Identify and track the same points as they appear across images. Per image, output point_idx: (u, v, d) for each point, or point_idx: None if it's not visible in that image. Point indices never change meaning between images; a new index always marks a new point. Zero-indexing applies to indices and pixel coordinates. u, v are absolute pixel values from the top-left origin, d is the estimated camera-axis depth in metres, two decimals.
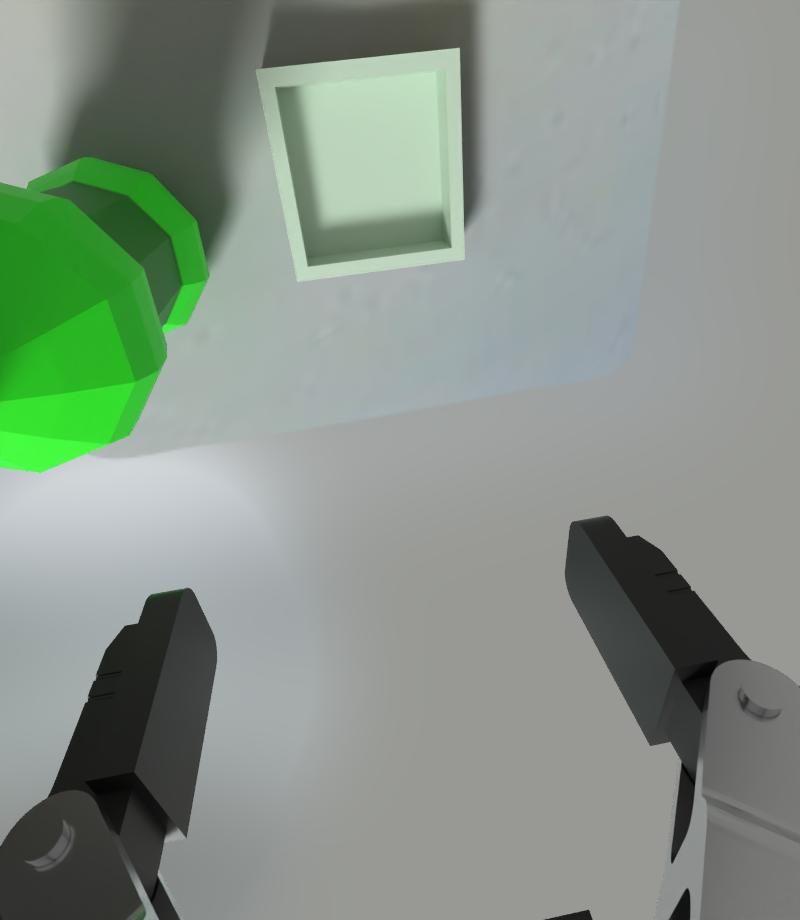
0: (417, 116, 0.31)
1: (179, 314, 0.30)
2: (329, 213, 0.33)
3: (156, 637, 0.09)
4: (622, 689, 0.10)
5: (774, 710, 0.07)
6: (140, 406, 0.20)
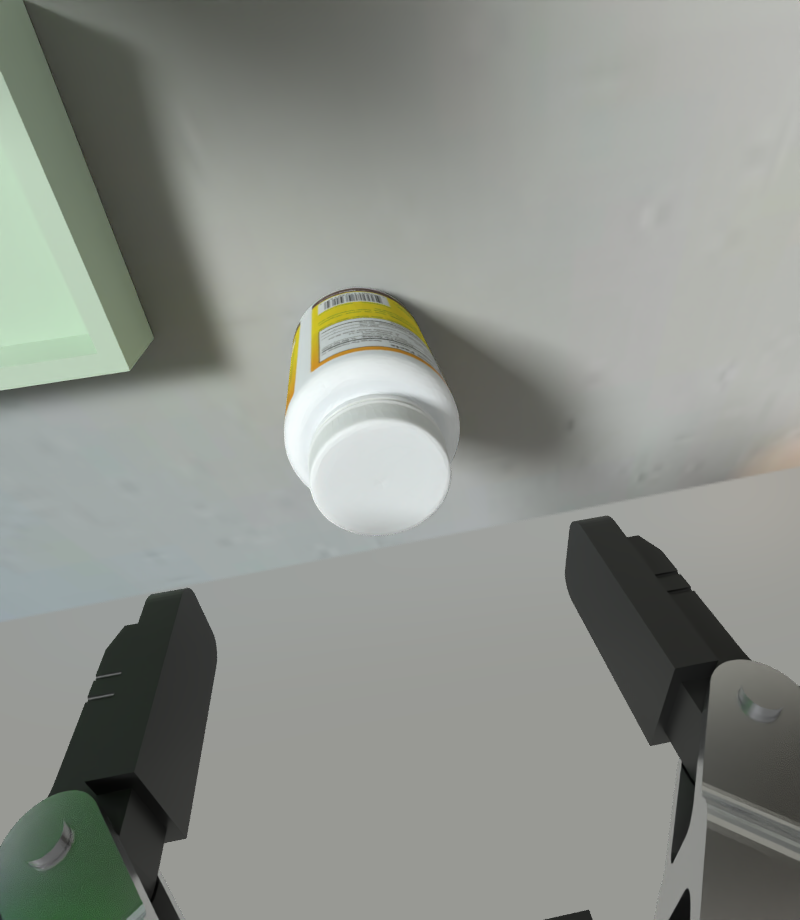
0: (52, 305, 0.20)
1: None
2: None
3: (156, 637, 0.09)
4: (621, 688, 0.10)
5: (774, 710, 0.07)
6: None
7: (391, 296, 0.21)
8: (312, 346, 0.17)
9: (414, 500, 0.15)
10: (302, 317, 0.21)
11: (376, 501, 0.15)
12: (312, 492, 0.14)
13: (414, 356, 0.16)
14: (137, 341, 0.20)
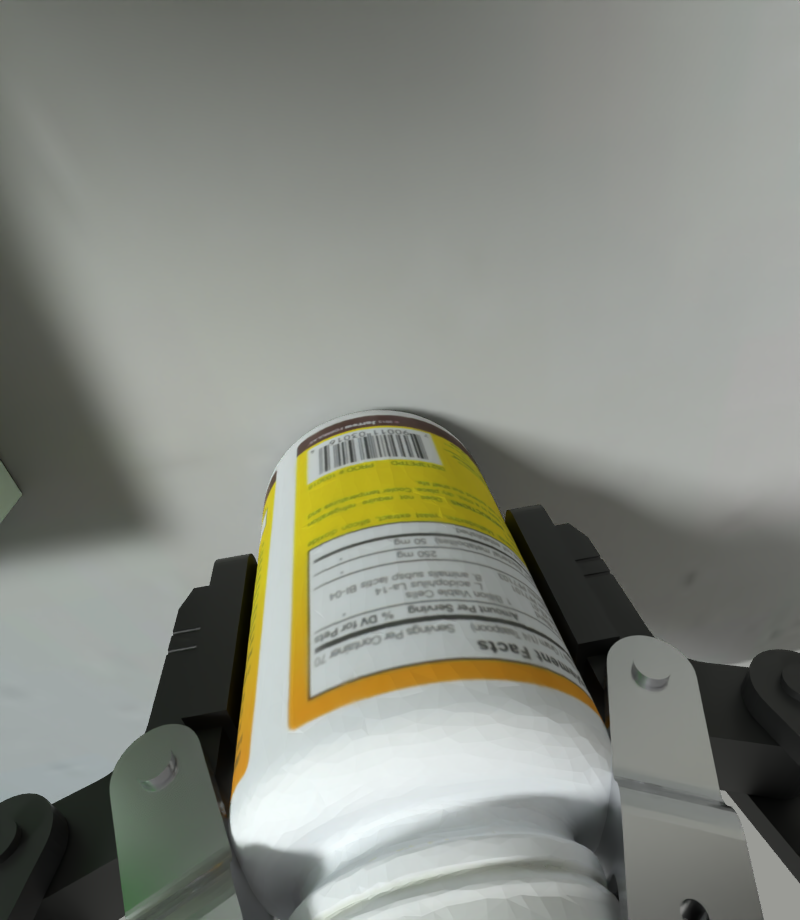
0: None
1: None
2: None
3: (229, 596, 0.10)
4: None
5: (663, 679, 0.07)
6: None
7: (436, 425, 0.12)
8: (294, 599, 0.08)
9: None
10: (280, 463, 0.12)
11: None
12: None
13: (533, 670, 0.07)
14: None
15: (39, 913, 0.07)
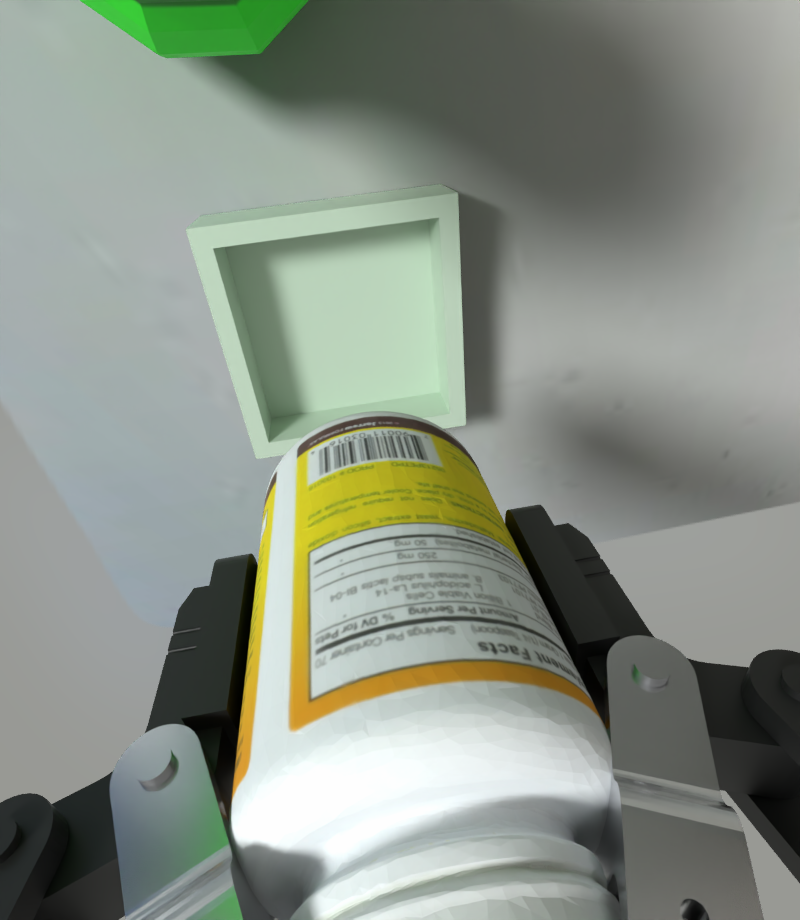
0: (400, 376, 0.27)
1: None
2: (288, 272, 0.24)
3: (229, 596, 0.10)
4: None
5: (663, 679, 0.07)
6: None
7: (436, 426, 0.12)
8: (295, 601, 0.08)
9: None
10: (280, 464, 0.12)
11: None
12: None
13: (533, 671, 0.07)
14: None
15: (39, 913, 0.07)
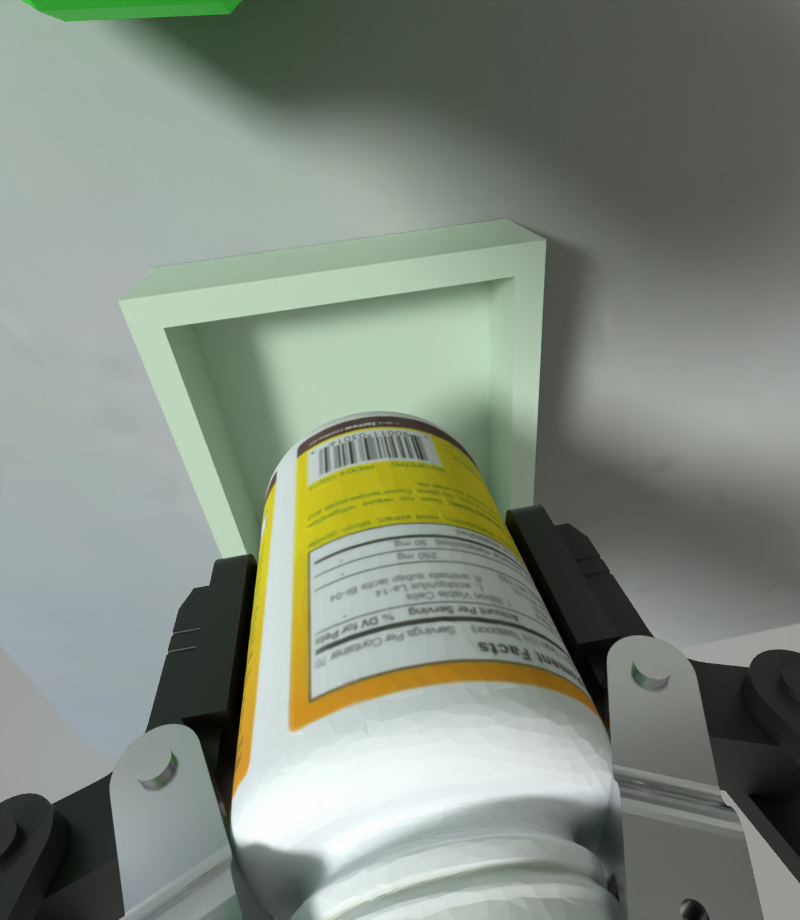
0: None
1: None
2: (283, 346, 0.16)
3: (229, 595, 0.10)
4: None
5: (663, 679, 0.07)
6: None
7: (436, 426, 0.12)
8: (295, 601, 0.08)
9: None
10: (280, 464, 0.12)
11: None
12: None
13: (534, 672, 0.07)
14: None
15: (39, 913, 0.07)
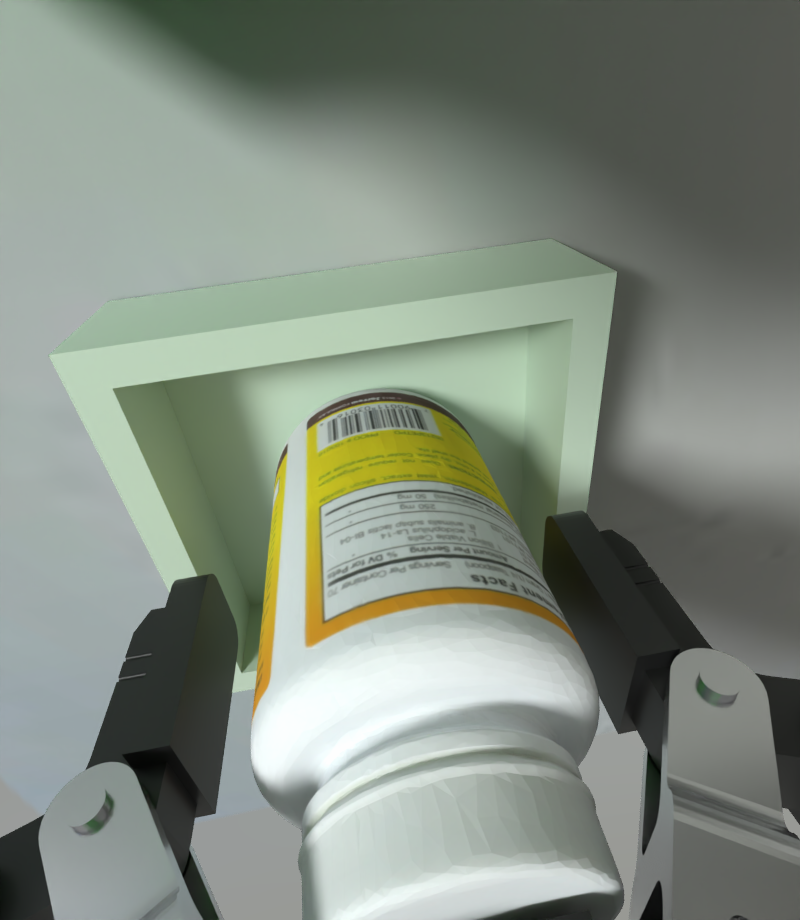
0: None
1: None
2: (273, 396, 0.13)
3: (184, 619, 0.09)
4: None
5: (730, 696, 0.07)
6: None
7: (435, 402, 0.13)
8: (308, 546, 0.09)
9: None
10: (291, 437, 0.13)
11: None
12: None
13: (519, 600, 0.08)
14: None
15: None
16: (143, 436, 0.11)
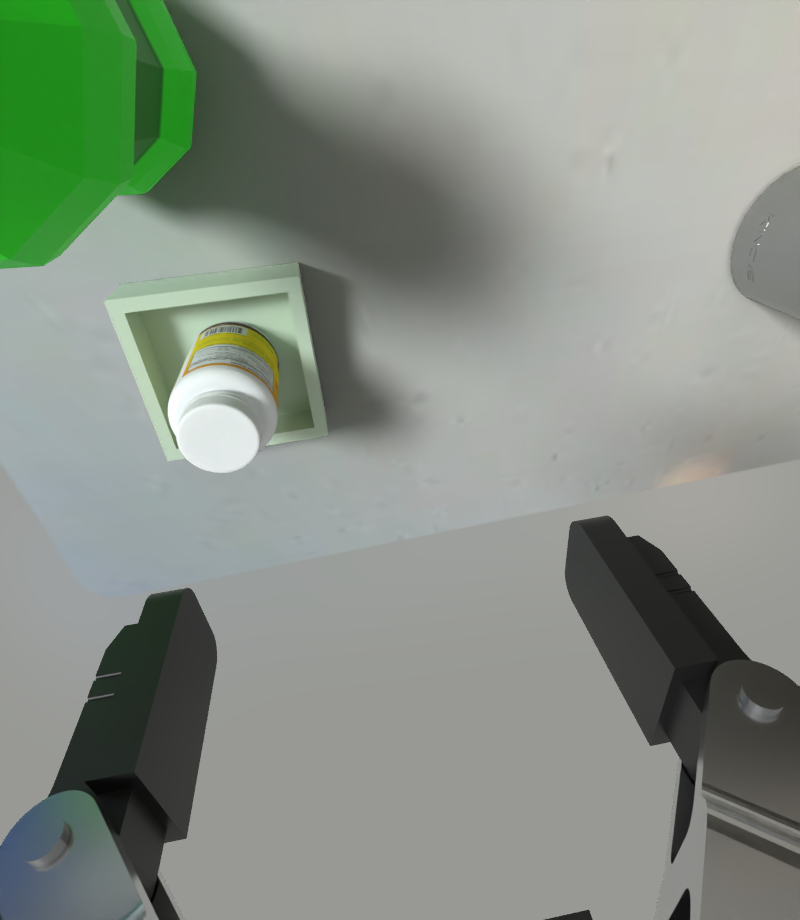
0: (281, 398, 0.36)
1: None
2: (187, 324, 0.32)
3: (156, 637, 0.09)
4: (622, 689, 0.10)
5: (774, 710, 0.07)
6: None
7: (253, 327, 0.32)
8: (188, 361, 0.28)
9: (239, 451, 0.26)
10: (194, 340, 0.32)
11: (217, 451, 0.26)
12: (178, 445, 0.25)
13: (244, 369, 0.27)
14: None
15: None
16: (134, 333, 0.30)
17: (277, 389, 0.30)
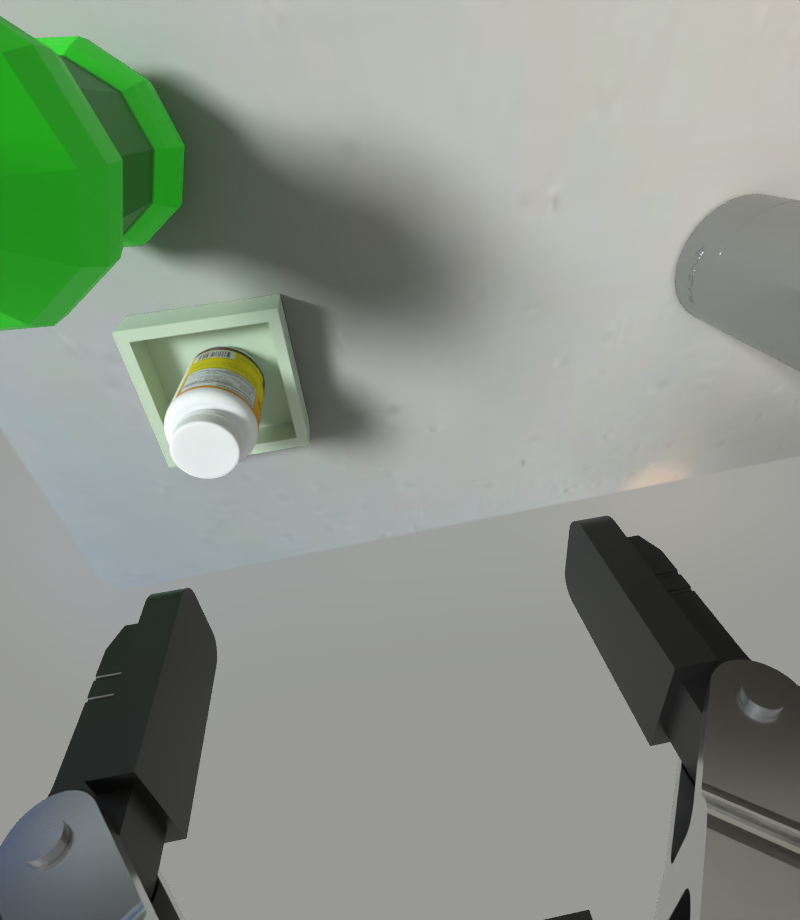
0: (268, 412, 0.41)
1: None
2: (184, 349, 0.37)
3: (156, 637, 0.09)
4: (622, 689, 0.10)
5: (774, 710, 0.07)
6: None
7: (241, 351, 0.37)
8: (182, 383, 0.33)
9: (223, 460, 0.31)
10: (190, 363, 0.37)
11: (204, 460, 0.31)
12: (171, 455, 0.30)
13: (228, 390, 0.32)
14: (308, 428, 0.41)
15: None
16: (138, 358, 0.35)
17: (259, 406, 0.35)
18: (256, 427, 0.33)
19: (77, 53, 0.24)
